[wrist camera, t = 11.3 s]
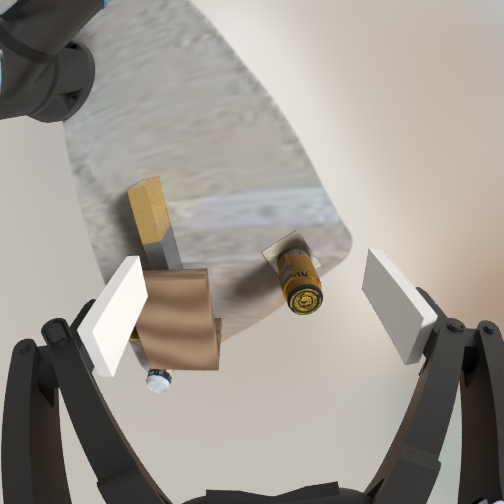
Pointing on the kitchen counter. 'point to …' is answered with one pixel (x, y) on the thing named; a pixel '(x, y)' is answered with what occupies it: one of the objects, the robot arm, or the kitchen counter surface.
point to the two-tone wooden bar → (154, 225)
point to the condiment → (296, 273)
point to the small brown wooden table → (179, 321)
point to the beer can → (159, 380)
